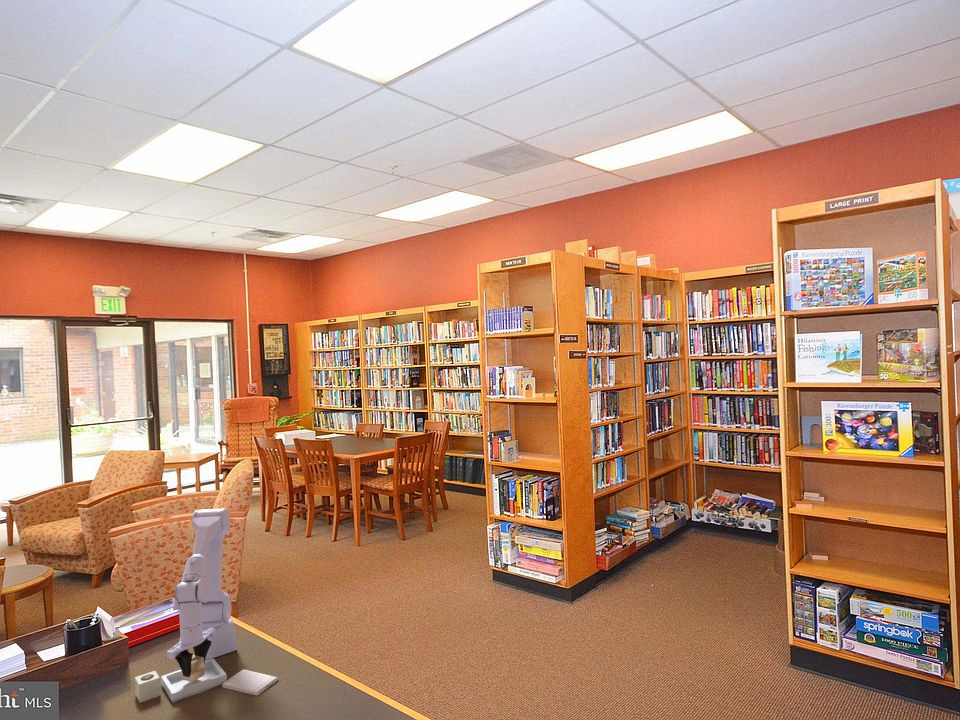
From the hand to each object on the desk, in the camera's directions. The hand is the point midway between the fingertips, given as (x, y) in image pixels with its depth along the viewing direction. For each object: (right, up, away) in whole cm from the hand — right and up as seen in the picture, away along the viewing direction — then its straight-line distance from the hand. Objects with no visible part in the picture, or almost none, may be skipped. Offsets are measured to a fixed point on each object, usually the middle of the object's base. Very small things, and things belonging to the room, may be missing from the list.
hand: (193, 671), depth 171 cm
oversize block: (-10, -4, -5) cm, 12 cm away
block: (0, -2, 0) cm, 2 cm away
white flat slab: (+16, -4, -1) cm, 17 cm away
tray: (0, -3, 0) cm, 3 cm away
